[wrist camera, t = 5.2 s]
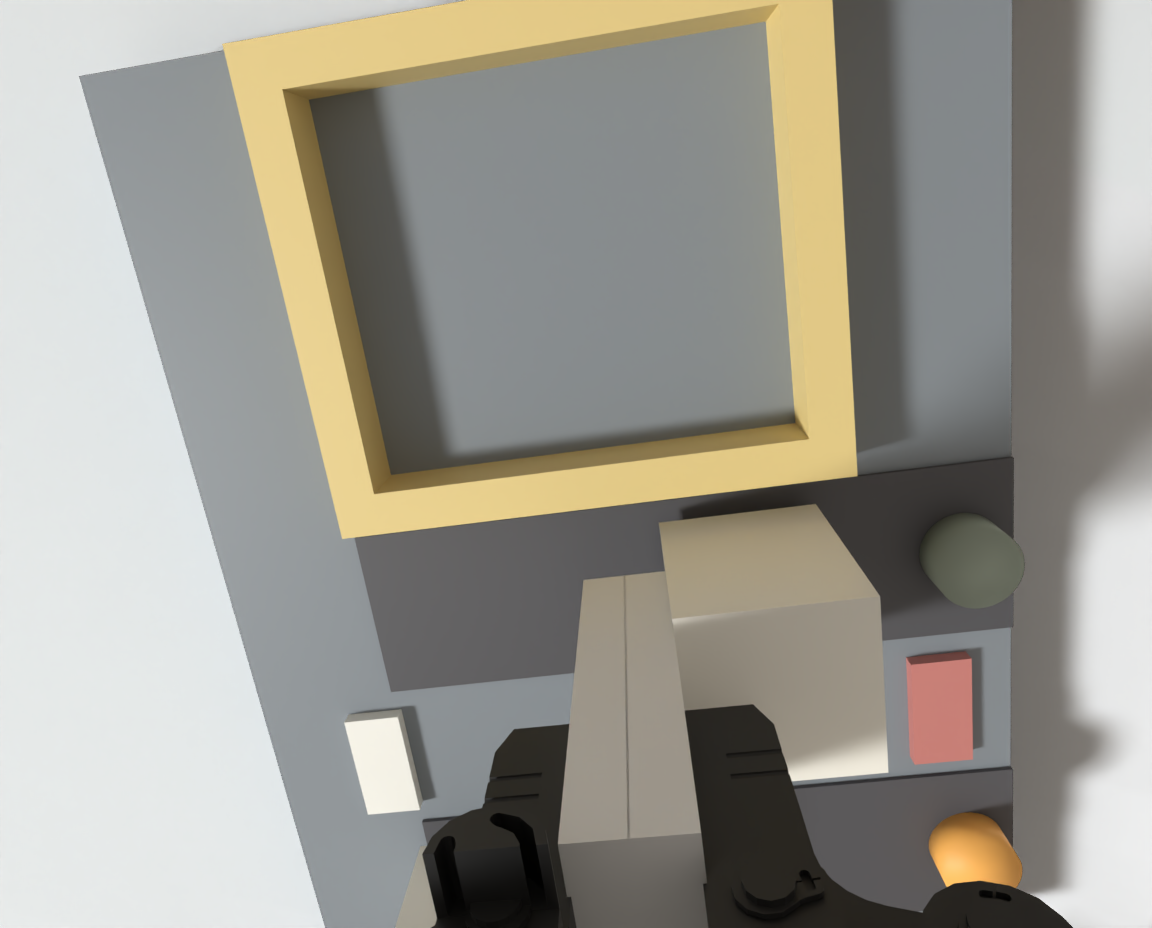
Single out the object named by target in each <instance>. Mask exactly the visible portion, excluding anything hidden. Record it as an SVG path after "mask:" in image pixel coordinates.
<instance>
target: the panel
mask: <svg viewBox="0 0 1152 928" xmlns="http://www.w3.org/2000/svg"><path fill="white" fill-rule="evenodd" d="M222 45H223V49H224V51H218V52H212V53H207V54H201V55H196V56H190V57H184V58H179V59H173V60H167V61H162V62H156V63H151V64H145V65H139V66H134V67H128V68H123V69H117V70H111V71H106V72H100V73H94V74H89V75H83V76H79V78H80V81H81V85H82V88H83V92H84V95H85V98H86V102H87V105H88V109H89V112H90V116H91V119H92V123H93V126H94V130H95V133H96V137H97V140H98V143H99V147H100V150H101V154H102V157H103V161H104V164H105V168H106V171H107V175H108V178H109V181H110V185H111V188H112V192H113V195H114V199H115V202H116V206H117V209H118V213H119V216H120V220H121V223H122V226H123V230H124V233H125V237H126V240H127V244H128V247H129V251H130V254H131V258H132V261H133V264H134V268H135V271H136V275H137V278H138V282H139V285H140V289H141V292H142V296H143V299H144V302H145V306H146V309H147V313H148V316H149V320H150V323H151V327H152V330H153V334H154V337H155V341H156V344H157V347H158V351H159V354H160V358H161V361H162V365H163V368H164V372H165V375H166V379H167V382H168V385H169V389H170V392H171V396H172V399H173V403H174V406H175V410H176V413H177V417H178V420H179V424H180V427H181V430H182V434H183V437H184V441H185V444H186V448H187V451H188V455H189V458H190V462H191V465H192V468H193V472H194V475H195V479H196V482H197V486H198V489H199V493H200V496H201V500H202V503H203V507H204V510H205V513H206V517H207V520H208V524H209V527H210V531H211V534H212V538H213V541H214V545H215V548H216V551H217V555H218V558H219V562H220V565H221V569H222V572H223V576H224V579H225V583H226V586H227V589H228V593H229V596H230V600H231V603H232V607H233V610H234V614H235V617H236V621H237V624H238V628H239V631H240V634H241V638H242V641H243V645H244V648H245V652H246V655H247V659H248V662H249V666H250V669H251V672H252V676H253V679H254V683H255V686H256V690H257V693H258V697H259V700H260V704H261V707H262V711H263V714H264V717H265V721H266V724H267V728H268V731H269V735H270V738H271V742H272V745H273V749H274V752H275V755H276V759H277V762H278V766H279V769H280V773H281V776H282V780H283V783H284V787H285V790H286V794H287V797H288V800H289V804H290V807H291V811H292V814H293V818H294V821H295V825H296V828H297V832H298V835H299V838H300V842H301V845H302V849H303V852H304V856H305V859H306V863H307V866H308V870H309V873H310V877H311V880H312V883H313V887H314V890H315V894H316V897H317V901H318V904H319V908H320V911H321V915H322V918H323V921H324V925H325V928H395V926H396V923H397V920H398V917H399V913H400V910H401V907H402V904H403V901H404V897H405V894H406V891H407V888H408V885H409V881H410V878H411V875H412V872H413V869H414V866H415V862H416V859H417V856H418V853H419V850H420V846H427V845H428V843H429V841H430V839H431V838H432V836H433V835H434V834H435V833H437V832H438V831H439V830H440V829H441V828H442V827H443V826H444V825H445V824H447V823H448V822H449V821H451V820H453V819H455V818H457V817H459V816H461V815H463V814H465V813H467V812H469V811H471V810H475V809H480V808H482V806H483V804H484V803H485V799H484V798H485V793H486V789H487V785H488V782H489V781H490V780H489V776H490V772H491V768H492V763H493V759H494V755H495V752H496V750H497V749H498V748H499V747H500V745H501V744H502V743H503V742H504V741H505V739H506V738H507V737H508V736H509V734H510V733H511V732H512V731H513V730H514V729H520V728H531V727H542V726H552V725H563V724H570V714H571V704H572V693H573V683H574V673H575V663H576V652H577V642H578V632H579V622H580V611H581V601H582V591H583V581H584V580H588V579H597V578H606V577H616V576H625V575H634V574H643V573H652V572H662V571H665V568H664V560H663V552H662V544H661V536H660V528H659V523H661V522H669V521H677V520H686V519H694V518H703V517H711V516H719V515H728V514H736V513H744V512H753V511H761V510H769V509H778V508H786V507H795V506H803V505H811V504H816V505H817V506H818V508H819V509H820V511H821V512H822V514H823V515H824V517H825V518H826V519H827V521H828V522H829V524H830V525H831V527H832V528H833V529H834V531H835V532H836V534H837V535H838V537H839V538H840V539H841V541H842V542H843V544H844V545H845V547H846V548H847V549H848V551H849V552H850V554H851V555H852V557H853V558H854V560H855V561H856V562H857V564H858V565H859V567H860V568H861V570H862V571H863V572H864V574H865V575H866V577H867V578H868V580H869V581H870V582H871V584H872V585H873V587H874V588H875V590H876V591H877V592H878V594H879V595H880V603H881V624H882V645H883V667H884V688H885V710H886V731H887V752H888V773H879V774H868V775H857V776H846V777H835V778H824V779H813V780H802V781H792V784H793V787H794V790H795V793H796V797H797V800H798V803H799V806H800V810H801V813H802V816H803V819H804V822H805V826H806V829H807V832H808V835H809V839H810V842H811V845H812V848H813V851H814V854H815V856H816V858H817V860H818V862H819V864H820V866H821V867H822V868H823V869H824V870H825V871H826V873H827V874H828V876H829V877H830V878H831V879H832V880H833V881H835V882H836V883H837V884H839V885H840V886H841V887H843V888H844V889H846V890H847V891H849V892H851V893H853V894H855V895H857V896H859V897H861V898H863V899H865V900H868V901H872V902H875V903H879V904H883V905H886V906H891V907H896V908H901V909H906V910H912V911H917V912H922V913H923V910H924V908H925V907H926V905H927V904H928V902H929V901H930V899H931V898H932V896H933V895H934V894H935V893H937V892H938V891H940V890H942V889H944V888H946V887H948V886H950V885H952V884H954V883H963V882H972V881H986V882H992V883H997V884H1003V885H1009V886H1012V887H1014V888H1016V887H1017V886H1018V884H1019V882H1020V880H1021V877H1022V864H1021V861H1020V859H1019V857H1018V856H1017V854H1016V853H1015V851H1014V849H1013V769H1012V768H1011V627H1013V592H1014V590H1015V589H1016V588H1017V586H1018V585H1019V583H1020V581H1021V579H1022V577H1023V573H1024V566H1025V563H1024V556H1023V553H1022V551H1021V549H1020V547H1019V545H1018V544H1017V543H1016V542H1015V541H1014V540H1013V488H1014V458H1013V457H1011V281H1012V0H466V1H460V2H455V3H449V4H443V5H438V6H432V7H427V8H421V9H415V10H410V11H404V12H399V13H393V14H387V15H382V16H376V17H371V18H365V19H360V20H354V21H348V22H343V23H337V24H332V25H326V26H320V27H315V28H309V29H304V30H298V31H292V32H287V33H281V34H276V35H270V36H265V37H259V38H253V39H248V40H242V41H237V42H231V43H225V44H222Z"/></svg>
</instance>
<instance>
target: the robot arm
mask: <svg viewBox="0 0 1152 928" xmlns="http://www.w3.org/2000/svg"><path fill="white" fill-rule="evenodd" d="M489 780H490V781H489V782H488V785H487V789H486V793H485V798H484V799H485V803H484V804H483V806H482V808H480V809H475V810H471V811H469V812H467V813H465V814H463V815H461V816H459V817H457V818H455V819H453V820H451V821H449V822H448V823H447V824H445V825H444V826H443V827H442V828H441V829H440V830H439V831H438V832H437V833H435V834H434V835H433V836H432V838H431V839H430V841H429V843H428V845H427V847H426V848H425V850H424V852H423V854H422V856H423V860H424V864H425V869H426V873H427V877H428V882H429V886H430V890H431V895H432V899H433V903H434V907H435V912H436V916H437V920H436V924H435V925H434V926H433V927H431V928H1073V927H1072V926H1071V925H1070V924H1069V923H1068V922H1067V921H1066V920H1065V919H1064V918H1063V917H1062V916H1061V915H1059V914H1058V913H1057V912H1055V911H1054V910H1053V909H1052V908H1050V907H1049V906H1048V905H1046V904H1045V903H1044V902H1043V901H1041V900H1040V899H1039V898H1037V897H1034V896H1032V895H1030V894H1028V893H1025V892H1023V891H1021V890H1018V889H1016V888H1014V887H1012V886H1009V885H1003V884H997V883H992V882H986V881H972V882H963V883H954V884H952V885H950V886H948V887H946V888H944V889H942V890H940V891H938V892H937V893H935V894H934V895H933V896H932V898H931V899H930V901H929V902H928V904H927V905H926V907H925V908H924V910H923V913H922V912H917V911H912V910H906V909H901V908H896V907H891V906H886V905H883V904H879V903H875V902H872V901H868V900H865V899H863V898H861V897H859V896H857V895H855V894H853V893H851V892H849V891H847V890H846V889H844V888H843V887H841V886H840V885H839V884H837V883H836V882H835V881H833V880H832V879H831V878H830V877H829V876H828V874H827V873H826V871H825V870H824V869H823V868H822V867H821V866H820V864H819V862H818V860H817V858H816V856H815V854H814V851H813V848H812V845H811V842H810V839H809V835H808V832H807V829H806V826H805V822H804V819H803V816H802V813H801V810H800V806H799V803H798V800H797V797H796V793H795V790H794V787H793V784H792V781H791V777H790V774H789V773H788V768H787V764H786V761H785V758H784V755H783V754H782V748H781V745H780V742H779V739H778V735H777V732H776V729H775V726H774V724H773V723H772V722H771V721H770V720H769V719H768V718H767V717H766V716H765V715H764V714H763V713H762V712H761V711H760V710H759V709H757V708H756V707H755V706H754V705H753V704H749V705H739V706H728V707H717V708H707V709H696V710H686V711H685V710H684V703H683V695H682V688H681V681H680V673H679V666H678V659H677V651H676V644H675V638H674V631H673V623H672V616H671V609H670V602H669V594H668V587H667V580H666V572H665V571H662V572H652V573H643V574H634V575H625V576H616V577H606V578H597V579H588V580H584V581H583V591H582V601H581V611H580V622H579V632H578V642H577V652H576V663H575V673H574V683H573V693H572V704H571V714H570V724H563V725H552V726H542V727H531V728H520V729H514V730H513V731H512V732H511V733H510V734H509V736H508V737H507V738H506V739H505V741H504V742H503V743H502V744H501V745H500V747H499V748H498V749H497V750H496V752H495V755H494V759H493V763H492V768H491V772H490V776H489Z"/></svg>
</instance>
